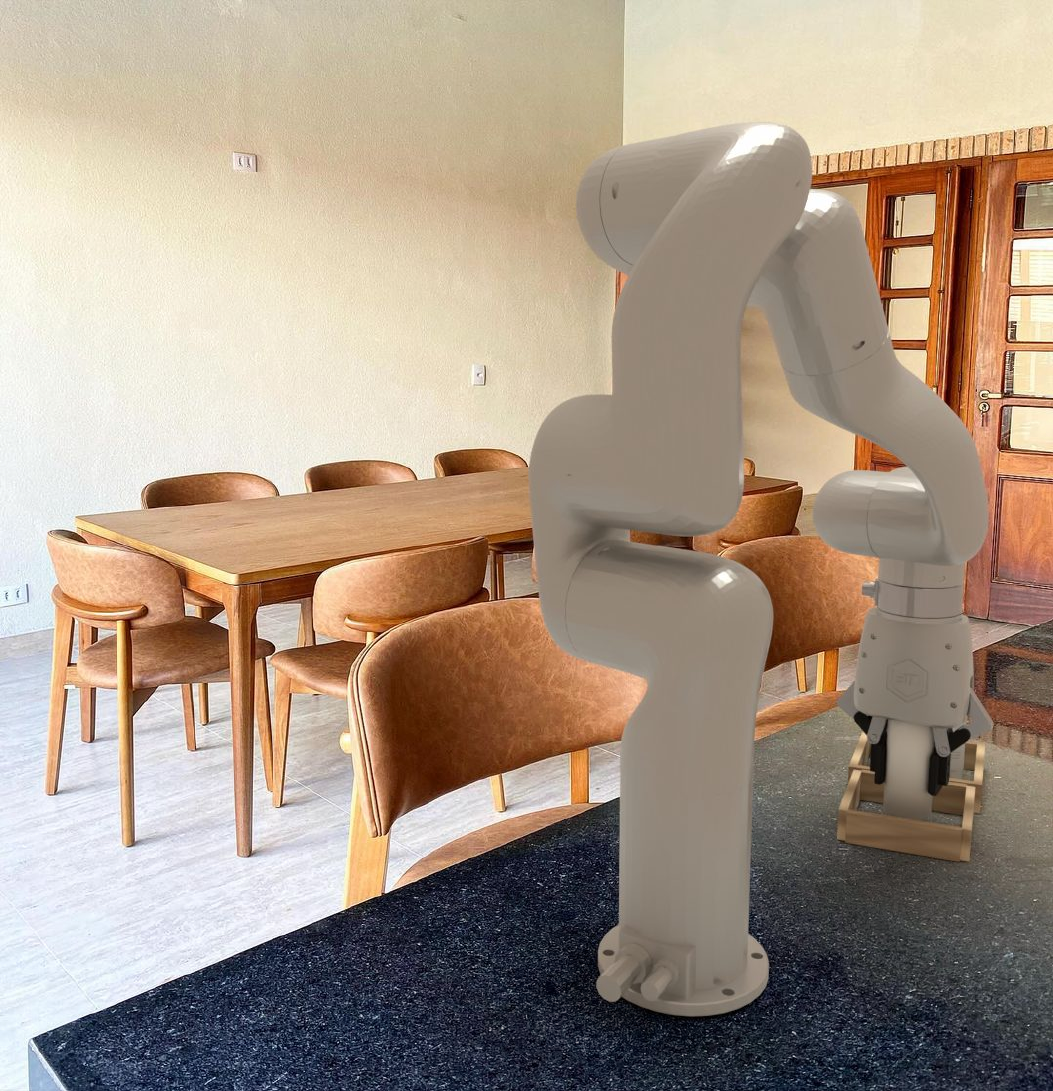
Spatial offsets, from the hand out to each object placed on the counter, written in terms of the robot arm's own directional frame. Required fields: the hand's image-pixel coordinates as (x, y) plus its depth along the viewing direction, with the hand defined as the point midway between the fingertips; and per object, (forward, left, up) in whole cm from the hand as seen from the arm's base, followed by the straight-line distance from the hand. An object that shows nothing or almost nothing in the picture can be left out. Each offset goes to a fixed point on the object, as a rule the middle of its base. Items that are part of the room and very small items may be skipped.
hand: (908, 783), depth 104 cm
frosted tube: (0, 0, -3) cm, 3 cm away
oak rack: (+6, +1, -4) cm, 8 cm away
